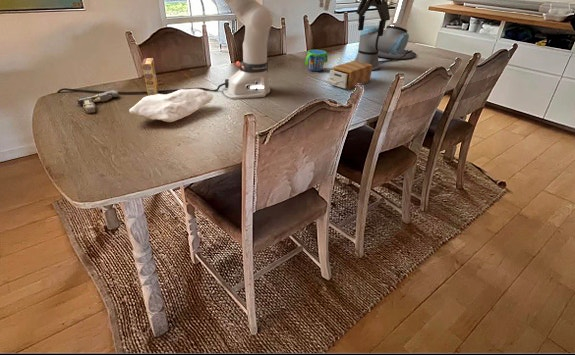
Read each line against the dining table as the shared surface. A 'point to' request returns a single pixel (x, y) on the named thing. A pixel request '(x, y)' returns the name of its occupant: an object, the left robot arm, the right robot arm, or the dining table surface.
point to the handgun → (95, 100)
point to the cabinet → (355, 72)
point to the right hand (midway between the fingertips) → (369, 32)
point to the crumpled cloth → (171, 104)
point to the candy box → (150, 76)
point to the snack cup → (316, 59)
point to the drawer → (338, 78)
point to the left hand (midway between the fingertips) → (323, 8)
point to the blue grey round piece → (397, 55)
